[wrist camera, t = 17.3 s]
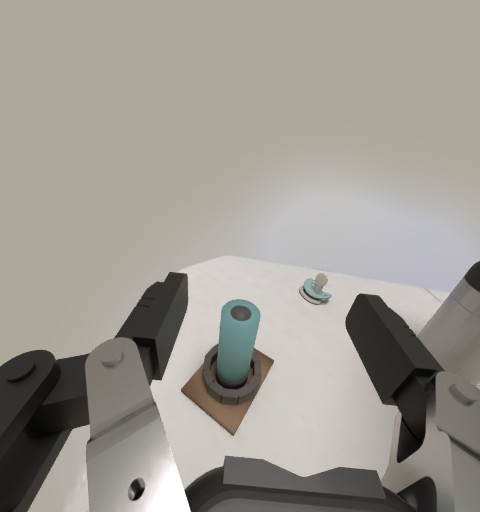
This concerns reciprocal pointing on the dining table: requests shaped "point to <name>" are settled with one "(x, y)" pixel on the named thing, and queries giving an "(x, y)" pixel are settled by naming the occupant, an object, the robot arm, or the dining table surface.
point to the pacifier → (315, 289)
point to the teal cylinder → (236, 343)
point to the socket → (226, 390)
